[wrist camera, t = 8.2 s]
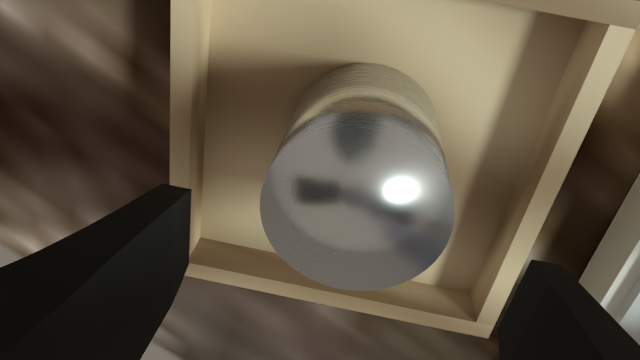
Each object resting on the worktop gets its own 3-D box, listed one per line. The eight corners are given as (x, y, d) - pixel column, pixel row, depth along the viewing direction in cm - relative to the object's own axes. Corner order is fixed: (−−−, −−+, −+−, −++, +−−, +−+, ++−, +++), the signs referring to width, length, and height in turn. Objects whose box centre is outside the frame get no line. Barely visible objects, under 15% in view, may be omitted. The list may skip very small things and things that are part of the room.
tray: (479, 297, 19) (487, 338, 17) (189, 237, 19) (169, 272, 17) (615, -13, 13) (648, 2, 11) (199, -92, 13) (171, -88, 12)
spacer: (408, 211, 17) (413, 310, 13) (278, 173, 16) (243, 262, 13) (462, 88, 14) (488, 162, 10) (312, 43, 14) (282, 101, 10)
